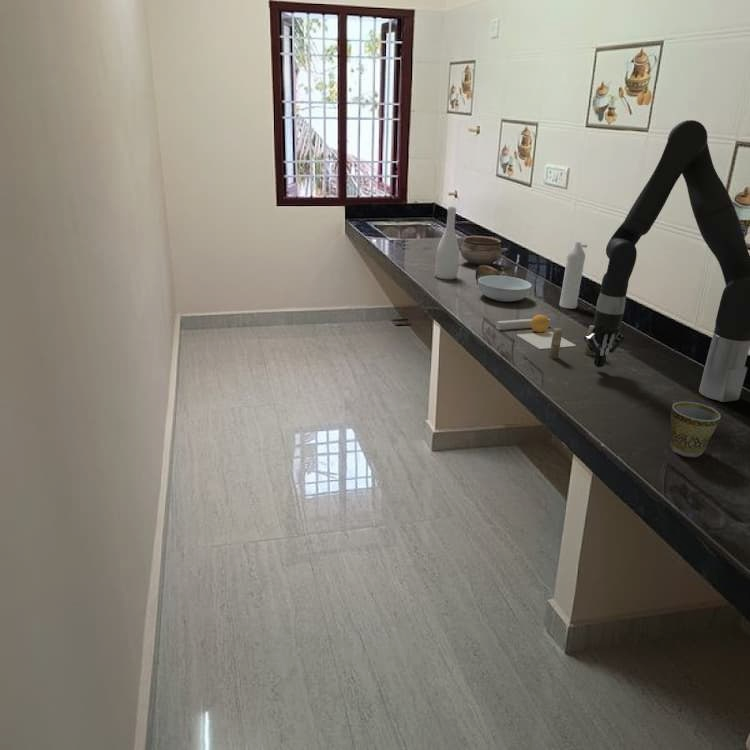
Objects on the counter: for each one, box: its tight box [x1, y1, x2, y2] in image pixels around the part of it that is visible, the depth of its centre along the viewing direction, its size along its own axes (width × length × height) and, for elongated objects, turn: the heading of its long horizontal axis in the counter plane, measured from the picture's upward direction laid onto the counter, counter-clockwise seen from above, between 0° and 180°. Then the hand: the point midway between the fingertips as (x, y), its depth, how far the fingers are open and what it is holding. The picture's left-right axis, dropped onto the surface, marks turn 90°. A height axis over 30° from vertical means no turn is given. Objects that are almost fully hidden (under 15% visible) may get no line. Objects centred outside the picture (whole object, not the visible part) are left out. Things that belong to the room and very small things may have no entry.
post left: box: [548, 327, 563, 360], centre depth 204 cm, size 3×3×9 cm
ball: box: [531, 314, 550, 333], centre depth 227 cm, size 6×6×6 cm
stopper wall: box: [495, 318, 551, 331], centre depth 232 cm, size 2×20×2 cm, turn 111°
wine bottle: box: [434, 206, 460, 281], centre depth 287 cm, size 10×10×30 cm
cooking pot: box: [458, 235, 509, 268], centre depth 316 cm, size 25×19×12 cm
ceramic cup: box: [669, 401, 721, 458], centre depth 152 cm, size 13×10×10 cm
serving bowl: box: [477, 275, 533, 303], centre depth 264 cm, size 21×21×7 cm
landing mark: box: [516, 331, 577, 350], centre depth 220 cm, size 14×14×1 cm
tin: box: [475, 265, 501, 284], centre depth 280 cm, size 15×3×8 cm, turn 25°
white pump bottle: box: [559, 241, 588, 310], centre depth 254 cm, size 9×6×25 cm
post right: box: [584, 324, 595, 356], centre depth 209 cm, size 3×3×9 cm
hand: (599, 366), depth 196 cm, fingers closed
